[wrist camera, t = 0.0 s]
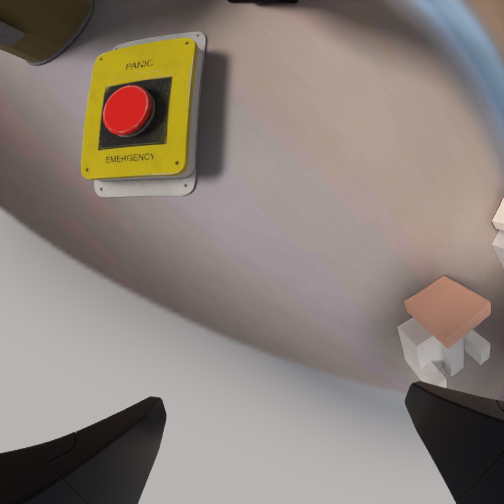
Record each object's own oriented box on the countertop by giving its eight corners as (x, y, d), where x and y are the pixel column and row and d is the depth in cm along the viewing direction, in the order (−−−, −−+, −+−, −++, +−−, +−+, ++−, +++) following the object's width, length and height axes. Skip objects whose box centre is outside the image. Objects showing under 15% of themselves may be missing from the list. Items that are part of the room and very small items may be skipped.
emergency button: (69, 200, 17) (93, 29, 14) (97, 197, 21) (114, 48, 18) (182, 197, 17) (199, 7, 14) (196, 195, 21) (208, 33, 18)
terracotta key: (404, 301, 22) (446, 337, 15) (443, 275, 21) (490, 302, 15) (417, 361, 23) (449, 400, 17) (452, 337, 23) (488, 369, 16)
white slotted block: (397, 326, 24) (432, 364, 17) (449, 292, 23) (491, 319, 16) (405, 360, 25) (435, 399, 18) (453, 327, 24) (489, 357, 17)
